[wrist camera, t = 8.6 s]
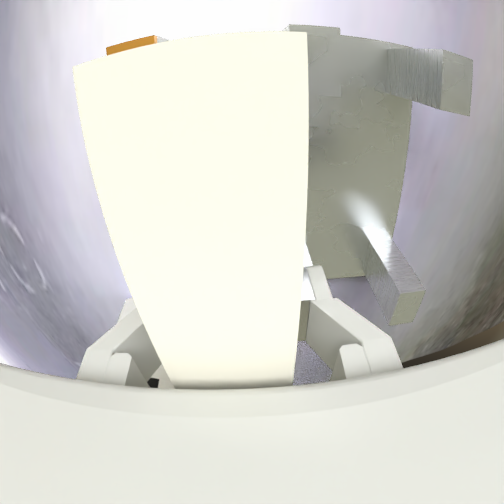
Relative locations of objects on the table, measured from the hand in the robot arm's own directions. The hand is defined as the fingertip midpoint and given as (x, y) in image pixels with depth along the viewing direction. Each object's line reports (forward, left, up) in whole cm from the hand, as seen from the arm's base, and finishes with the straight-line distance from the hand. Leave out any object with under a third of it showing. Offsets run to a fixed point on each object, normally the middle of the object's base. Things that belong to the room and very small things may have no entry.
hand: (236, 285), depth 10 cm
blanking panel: (0, 0, -4) cm, 4 cm away
